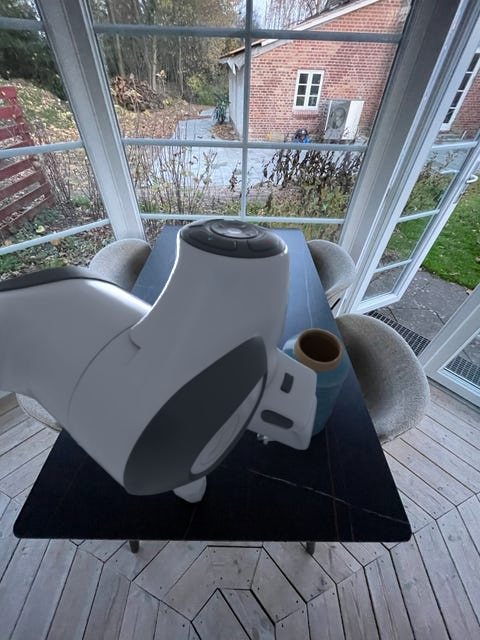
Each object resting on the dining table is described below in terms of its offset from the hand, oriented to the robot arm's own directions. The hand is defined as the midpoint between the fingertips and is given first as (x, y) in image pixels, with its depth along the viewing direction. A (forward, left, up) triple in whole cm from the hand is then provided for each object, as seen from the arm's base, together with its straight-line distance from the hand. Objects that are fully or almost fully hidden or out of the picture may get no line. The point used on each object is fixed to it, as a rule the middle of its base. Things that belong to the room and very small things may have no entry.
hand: (232, 424), depth 38 cm
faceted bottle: (-5, +7, -29) cm, 30 cm away
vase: (+22, -9, -29) cm, 38 cm away
